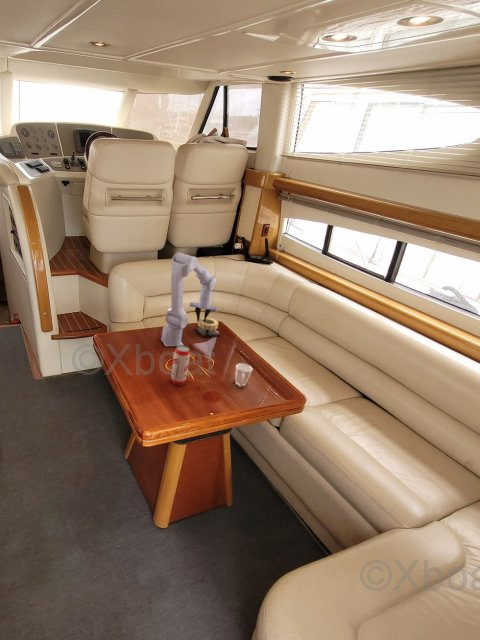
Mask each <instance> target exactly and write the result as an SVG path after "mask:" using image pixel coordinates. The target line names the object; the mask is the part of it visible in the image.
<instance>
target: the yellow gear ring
mask: <svg viewBox="0 0 480 640" xmlns="http://www.w3.org/2000/svg"><path fill="white" fill-rule="evenodd" d="M207 323H210V324H207ZM219 323H220V322H219V321H218V320H216V319H215V318H211V317H207V318H206V320H205V322H204V317H200V319H199V321H198V322H197V326H198V328H203V329H204V328H205V329H207V330H209V329H210V330H215V331H216V330H217V329H219Z"/></svg>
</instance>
